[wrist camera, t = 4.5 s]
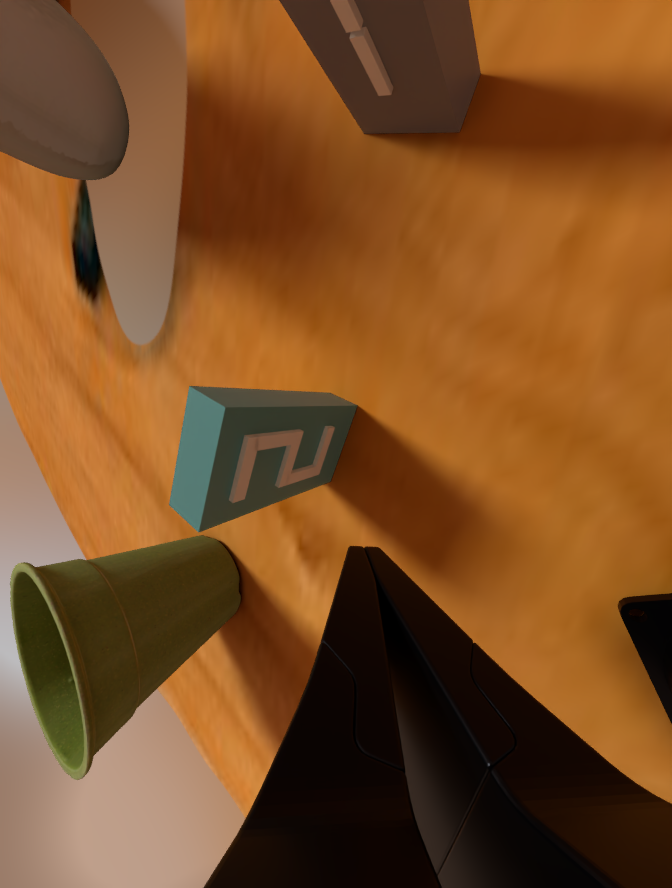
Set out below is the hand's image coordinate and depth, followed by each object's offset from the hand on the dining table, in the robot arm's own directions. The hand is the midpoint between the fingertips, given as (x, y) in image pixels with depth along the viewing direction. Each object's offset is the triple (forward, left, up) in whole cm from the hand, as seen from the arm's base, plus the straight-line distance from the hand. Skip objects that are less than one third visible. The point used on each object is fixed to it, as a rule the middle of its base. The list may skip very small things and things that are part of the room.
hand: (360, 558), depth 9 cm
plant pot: (-1, +21, -9) cm, 23 cm away
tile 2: (+5, +5, -8) cm, 11 cm away
